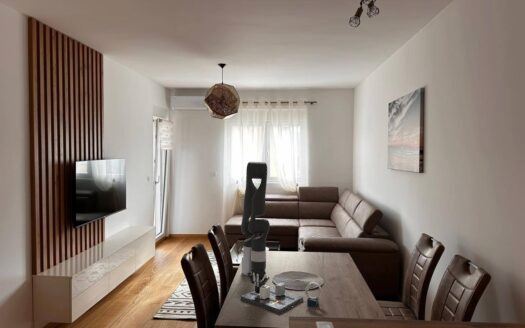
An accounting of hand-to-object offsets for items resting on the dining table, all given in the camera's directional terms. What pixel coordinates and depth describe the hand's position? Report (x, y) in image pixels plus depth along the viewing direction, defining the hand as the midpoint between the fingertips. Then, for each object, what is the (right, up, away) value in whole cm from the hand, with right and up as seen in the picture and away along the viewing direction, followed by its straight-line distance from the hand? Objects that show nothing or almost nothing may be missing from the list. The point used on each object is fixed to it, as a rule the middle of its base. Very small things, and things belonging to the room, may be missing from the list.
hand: (257, 293), depth 186 cm
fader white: (+3, -1, -2) cm, 4 cm away
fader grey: (+11, -1, +2) cm, 11 cm away
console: (+7, -3, 0) cm, 8 cm away
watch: (+27, -4, -5) cm, 27 cm away
